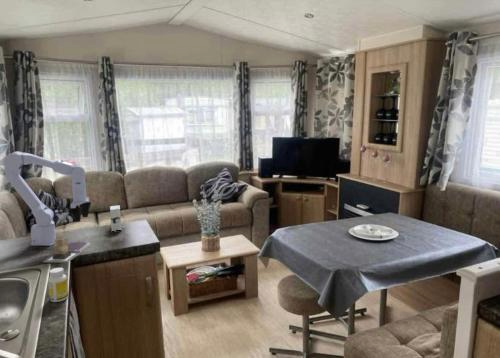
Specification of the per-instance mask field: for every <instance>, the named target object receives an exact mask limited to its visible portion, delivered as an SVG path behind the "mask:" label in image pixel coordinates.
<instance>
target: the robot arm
mask: <svg viewBox="0 0 500 358" xmlns="http://www.w3.org/2000/svg"><path fill="white" fill-rule="evenodd" d="M3 164H4V176H5V179H6V180H7V181H8V182H9V184H11V186H12V188H14V190H15V192H17V194H18V195H19V196H20V197H21V198H22V200H23V201H24V202H25V204H26V205H27V206H28V208H29V209H30V210H31V212H32V215H33V217H34V218H35V223H36V224H33V225H32V226H31V228H30V238H31V239H30V240H31V244H30V246H45V247H46V246H53V245H55V244H54V240H55V239H56V238H57V237H56V235H57V234H56V225H55V221H54V220H53V218H54V216H55V213H54V211H53V210H52V209H51V208H50V207H48V206H47V205H46V204H44V203H43V202H42V201H41V200H40V198H39V197H38V196H37V195H36V194H35V192H34V190H32V188H31V187H30V186H29V185H28V183H27V182H26V181H25V180H24V178H23V177H22V176H21V171H22V167H23V166H25V165H30V164H34V165H37V166H42V167H45V168H50V169H51V170H52V171H53V172H54V173H57V174H61V175H65V176H71V178H72V180H71V187H72V189H71V190H72V202H71V203H70V206H69V207H68V211H70V213H71V215H72V216H73V217H72V218H73V219H74V222H76V223H78V222H79V223H80V222H81V216H82V218H89V217H88V216H89V211H90V208H91V206H92V201H90V197H89V196H87V187H86V184H87V183H86V181H85V180H86V176H85V174H86V169H85V168H84V167H83V166H82V165H80V164H76V163H74V162H73V163H69V162H66V161H65V160H64V159H61V160H60V159H58V160H55V161H54V160H50V159H48V158H44V157H42V156H39V155H36V154H32V153H28V152H22V151H20V150H18V151H16V150H15V151H13V152H12V153H9V154H8V155H6V157H5V159H4V161H3Z"/></svg>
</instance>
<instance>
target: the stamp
mask: <svg viewBox="0 0 500 358" xmlns="http://www.w3.org/2000/svg"><path fill="white" fill-rule="evenodd" d="M67 243H68V237H66V236H58V237H56V239H55V240H54V244H53V245H54V253H53V254H52V255H53V259H66V258H67V257H69V256H70V255H71V251H68V244H67Z"/></svg>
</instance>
